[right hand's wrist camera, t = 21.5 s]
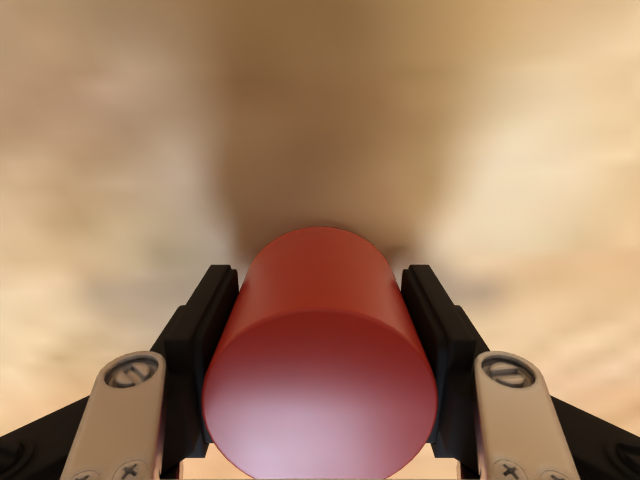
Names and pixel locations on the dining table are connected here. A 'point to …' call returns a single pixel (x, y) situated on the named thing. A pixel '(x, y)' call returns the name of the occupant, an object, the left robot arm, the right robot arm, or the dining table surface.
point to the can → (319, 365)
